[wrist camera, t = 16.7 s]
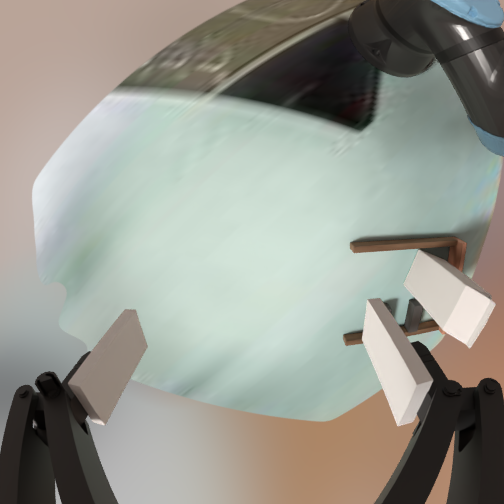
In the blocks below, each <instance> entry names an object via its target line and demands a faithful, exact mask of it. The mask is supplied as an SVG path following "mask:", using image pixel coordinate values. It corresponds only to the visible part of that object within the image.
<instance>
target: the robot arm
mask: <svg viewBox="0 0 504 504" xmlns="http://www.w3.org/2000/svg"><path fill="white" fill-rule="evenodd" d="M503 21H504V12H503V10H502V8H501V7H500V3H499V1H498V0H366V1H364V2H362V3H360V4H359V5H358V6H357V7H356V8H355V9H354V11H353V12H352V14H351V15H350V18H349V21H348V30H349V34H350V37H351V40H352V42H353V44H354V46H355V47H356V49H357V50H358V51H359V53H360V54H361V55H362V56H363V57H364V58H365V59H366V60H367V61H368V62H369V63H371V64H372V65H373V66H375V67H376V68H378V69H379V70H381V71H383V72H385V73H387V74H390V75H393V76H397V77H412V76H415V75H417V74H420V73H422V72H424V71H425V70H426V69H427V68H428V67H429V66H430V65H431V63H432V61H433V58H434V57H436V58H437V60H438V61H439V63H440V65H441V66H442V68H443V70H444V71H445V73H446V75H447V76H448V78H449V80H450V82H451V83H452V85H453V87H454V89H455V90H456V92H457V94H458V96H459V98H460V100H461V102H462V104H463V106H464V108H465V110H466V112H467V114H468V119H469V121H470V123H471V124H472V125H473V126H474V128H475V131H476V133H477V135H478V137H479V139H480V141H481V143H482V144H483V145H484V146H485V147H486V148H487V149H488V150H489V151H491V152H493V153H495V154H497V155H500V156H503V157H504V32H503V30H502V28H501V27H500V26H501V25H502V23H503ZM362 341H363V343H364V345H365V348H366V350H367V352H368V354H369V357H370V359H371V361H372V364H373V366H374V368H375V371H376V373H377V375H378V378H379V380H380V383H381V385H382V388H383V390H384V392H385V395H386V397H387V400H388V402H389V405H390V408H391V410H392V413H393V415H394V418H395V421H396V423H397V426H401V425H404V424H408V423H411V422H413V421H414V419H415V417H416V415H418V417H419V419H420V421H419V423H418V425H417V427H416V428H415V430H414V432H413V436H412V438H411V440H410V442H409V444H408V447H407V449H406V450H405V452H404V454H403V456H402V458H401V460H400V462H399V464H398V466H397V468H396V469H395V471H394V473H393V475H392V476H391V478H390V480H389V481H388V483H387V485H386V486H385V488H384V489H383V491H382V493H381V494H380V496H379V497H378V499H377V500H376V502H375V503H374V504H425V502H426V500H427V498H428V496H429V494H430V492H431V490H432V487H433V486H434V483H435V481H436V479H437V477H438V474H439V472H440V469H441V467H442V464H443V462H444V459H445V457H446V454H447V451H448V448H449V445H450V442H451V439H452V436H453V433H454V431H455V441H454V455H453V465H452V473H451V480H450V487H449V493H448V499H447V503H446V504H504V399H503V393H502V388H501V386H500V384H499V383H498V382H497V381H496V380H494V379H491V378H485V379H483V380H481V381H480V383H479V384H478V386H477V387H470V388H462V386H461V385H460V384H459V383H458V382H456V381H453V380H448V379H447V377H446V376H445V374H444V373H443V371H442V369H441V368H440V367H439V365H438V363H437V362H436V361H435V359H434V357H433V356H432V355H431V353H430V351H429V350H428V348H427V347H426V346H425V345H423V344H422V343H420V342H419V341H417V342H412V343H410V342H409V340H408V339H407V337H406V335H405V334H404V332H403V331H402V329H401V328H400V326H399V325H398V323H397V322H396V320H395V319H394V317H393V316H392V315H391V313H390V312H389V310H388V309H387V307H386V306H385V304H384V303H383V302H382V300H381V299H380V298H376V299H367V307H366V315H365V322H364V329H363V335H362ZM147 347H148V346H147V343H146V340H145V337H144V334H143V331H142V328H141V325H140V322H139V319H138V315H137V312H136V310H129V309H125V310H124V311H123V313H122V314H121V315H120V316H119V317H118V319H117V320H116V321H115V322H114V324H113V325H112V326H111V327H110V329H109V330H108V331H107V332H106V334H105V335H104V336H103V337H102V339H101V340H100V341H99V342H98V344H97V345H96V346H95V348H94V349H93V350H92V351H89V352H87V353H86V354H85V355H83V356H82V357H81V358H80V360H79V361H78V362H77V364H76V365H75V366H74V368H73V369H72V370H71V371H70V373H69V374H68V376H67V377H66V378H65V379H64V381H63V382H62V383H61V382H60V380H59V379H58V377H57V375H56V374H55V373H54V372H50V371H49V372H45V373H43V374H41V375H40V376H38V377H37V379H36V381H35V385H36V386H37V388H38V389H39V391H40V392H39V393H37V392H35V391H34V389H33V388H32V387H31V386H30V385H23V386H21V387H19V388H18V389H17V390H16V392H15V395H14V398H13V401H12V405H11V408H10V412H9V416H8V419H7V423H6V428H5V432H4V437H3V441H2V446H1V452H0V504H56V499H55V480H56V484H57V488H58V492H59V495H60V499H61V502H62V504H118V502H117V500H116V498H115V496H114V493H113V491H112V489H111V487H110V485H109V482H108V480H107V478H106V475H105V472H104V470H103V467H102V465H101V462H100V459H99V456H98V453H97V451H96V448H95V445H94V442H93V439H92V435H91V432H90V429H89V425H88V423H87V421H86V420H85V419H86V417H87V416H88V415H89V417H90V418H91V419H92V421H93V422H95V423H98V424H102V425H106V423H107V421H108V419H109V418H110V416H111V413H112V412H113V410H114V408H115V406H116V404H117V402H118V400H119V398H120V396H121V394H122V392H123V391H124V389H125V387H126V385H127V383H128V381H129V380H130V378H131V376H132V374H133V372H134V370H135V369H136V367H137V365H138V363H139V361H140V360H141V358H142V356H143V354H144V352H145V351H146V349H147ZM33 423H34V424H35V426H34V428H33Z"/></svg>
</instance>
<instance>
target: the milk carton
mask: <svg viewBox="0 0 504 504" xmlns="http://www.w3.org/2000/svg"><path fill="white" fill-rule="evenodd" d="M403 285H404V286H405V287H406V288H407V289H408V291H409V292H410V293H411V294H412V295H413V296H414V297H415V298H416V299H417V301H418V302H419V303H420V304H421V305H422V306H423V307H424V309H425V310H426V311H427V312H428V313H429V314H430V315H431V317H432V318H433V319H434V320H435V321H436V323H437V324H438V325H439V326H440V327H441V329H442V330H443V331H445V332H446V333H448V334H450V335H451V336H453V337H455V338H456V339H458V340H460V341H462V342H463V343H465V344H466V345H467V346H468V347H469V348H471V347H472V345H473V343H474V342H475V340H476V339H477V337H478V335H479V334H480V332H481V330H482V329H483V328H484V326H485V324H486V323H487V321H488V318H489V316H490V314H491V312H492V311H493V308H494V307H495V305H496V304H495V303H494V302H493V301H492V300H491V295H490V294H489V293H488V292H487V291H485V290H484V289H483V288H482V287H480V286H479V285H478V284H477V283H475V282H474V281H473V280H472V279H470V278H469V277H468V276H466V275H465V274H464V273H462V272H461V271H460V270H458V269H457V268H456V267H454V266H453V265H451V264H450V263H449V262H447V261H446V260H444V259H442V258H439V257H437V256H435V255H432V254H430V253H427V252H425V251H422V250H420V249H419V250H418V252H417V254H416V257H415V259H414V261H413V264H412V266H411V268H410V270H409V273H408V275H407V277H406V279H405V281H404V284H403Z"/></svg>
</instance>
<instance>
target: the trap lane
mask: <svg viewBox="0 0 504 504" xmlns="http://www.w3.org/2000/svg"><path fill="white" fill-rule="evenodd" d="M446 246H450V250H449V257H448V262H449V263H450V264H451V265H453V266H454V267H456V268H457V269H458V270H460V271H461V272H462V270H463V264H464V259H465V253H466V246H467V243H466V242H464V241H462V240H460V239H458V238H457V237H437V238H419V239H402V240H384V241H367V242H350V249H351V250H352V251H353V253H361V252H376V251H391V250H405V249H419V248H433V247H446ZM384 304H385V306H386V307H387V309H388V310H389V312H390V313H391V311H392V310H391V308H390V307H389V305H388V304H387V303H384ZM422 310H423V306H422V305H421V304H420V303H419V302H418V301H417V299H412V300H409V305H408V310H407V315H406V319H405V324H404V326H401V327H400V328H401V329H402V331H403V332H404V334H405V335H406V336H411V335H416V334H421V333H426V332H431V331H435V330H439V331H440V332H441V333H442V334H446V332H445V331H443V330H442V329H441V327H440V326H439V325H438V324H437V323H436V321H435V320H433V321H428V322H423V323H420V318H421V314H422ZM362 335H363V332H361V333H353V334H344V336H343V340H344V342H345V345H346V346H348V345H355V344H363V341H362Z"/></svg>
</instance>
